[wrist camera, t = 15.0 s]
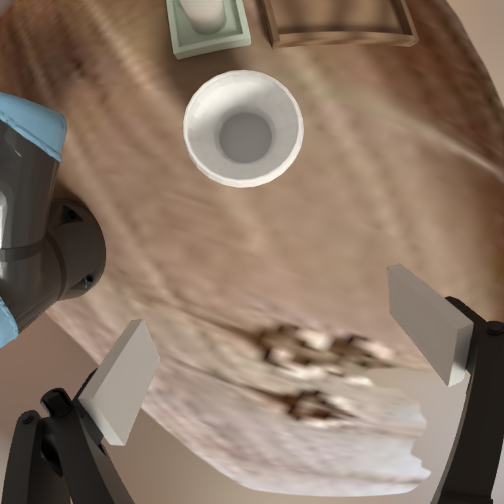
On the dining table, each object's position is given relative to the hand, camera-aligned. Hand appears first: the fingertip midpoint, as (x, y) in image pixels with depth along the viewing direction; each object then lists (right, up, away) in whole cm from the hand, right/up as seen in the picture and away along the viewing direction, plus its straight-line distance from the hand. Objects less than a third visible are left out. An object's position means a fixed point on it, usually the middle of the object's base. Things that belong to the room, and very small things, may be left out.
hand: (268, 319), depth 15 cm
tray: (+11, +37, +16) cm, 42 cm away
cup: (-2, +18, +22) cm, 28 cm away
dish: (-7, +34, +17) cm, 39 cm away
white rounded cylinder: (-7, +34, +17) cm, 39 cm away
